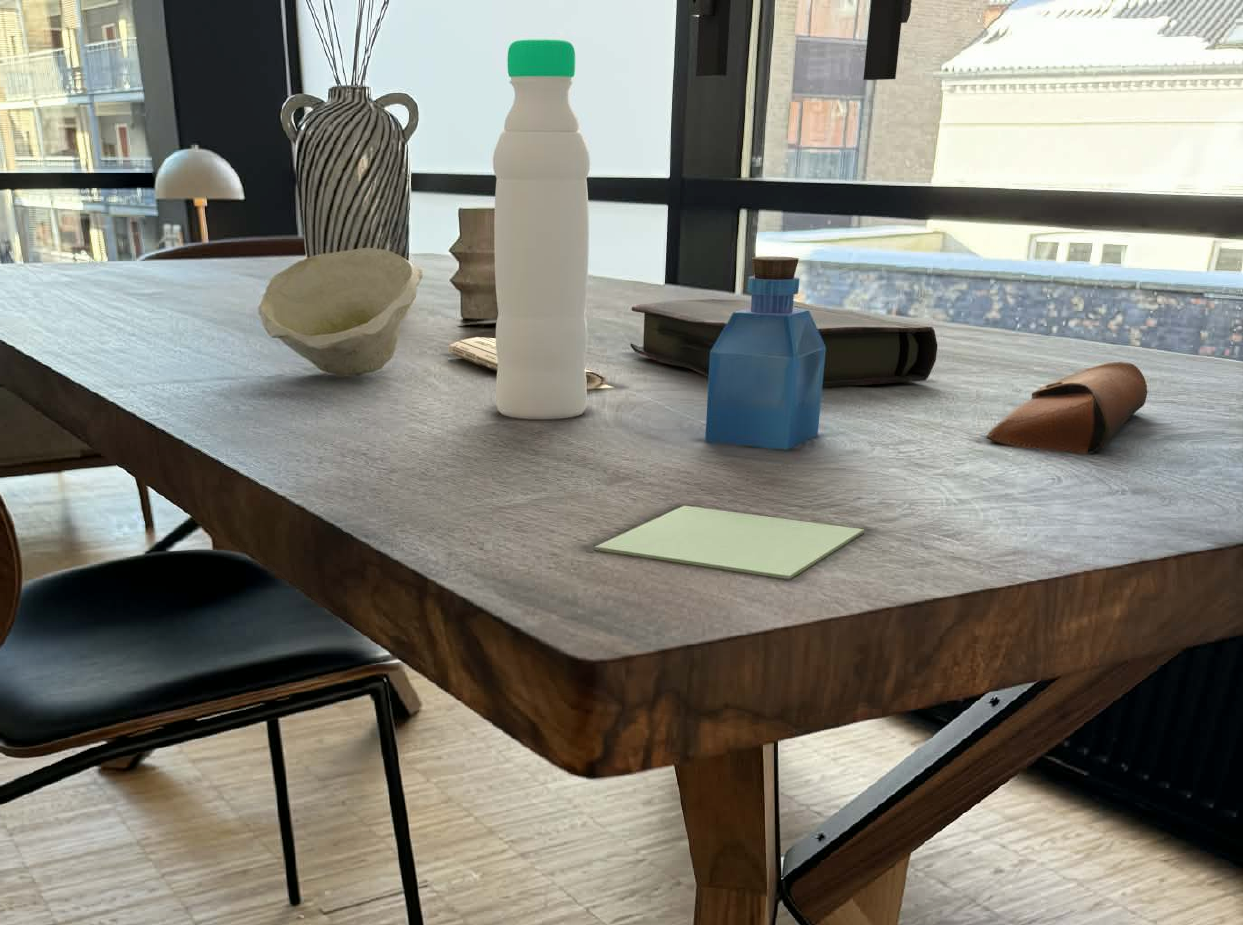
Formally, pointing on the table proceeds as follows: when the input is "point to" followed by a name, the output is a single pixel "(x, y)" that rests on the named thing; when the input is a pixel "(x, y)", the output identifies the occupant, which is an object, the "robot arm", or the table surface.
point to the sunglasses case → (1075, 410)
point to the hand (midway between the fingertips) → (797, 79)
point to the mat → (733, 541)
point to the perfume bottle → (767, 366)
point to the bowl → (341, 308)
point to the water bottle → (541, 239)
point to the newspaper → (486, 356)
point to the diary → (850, 338)
